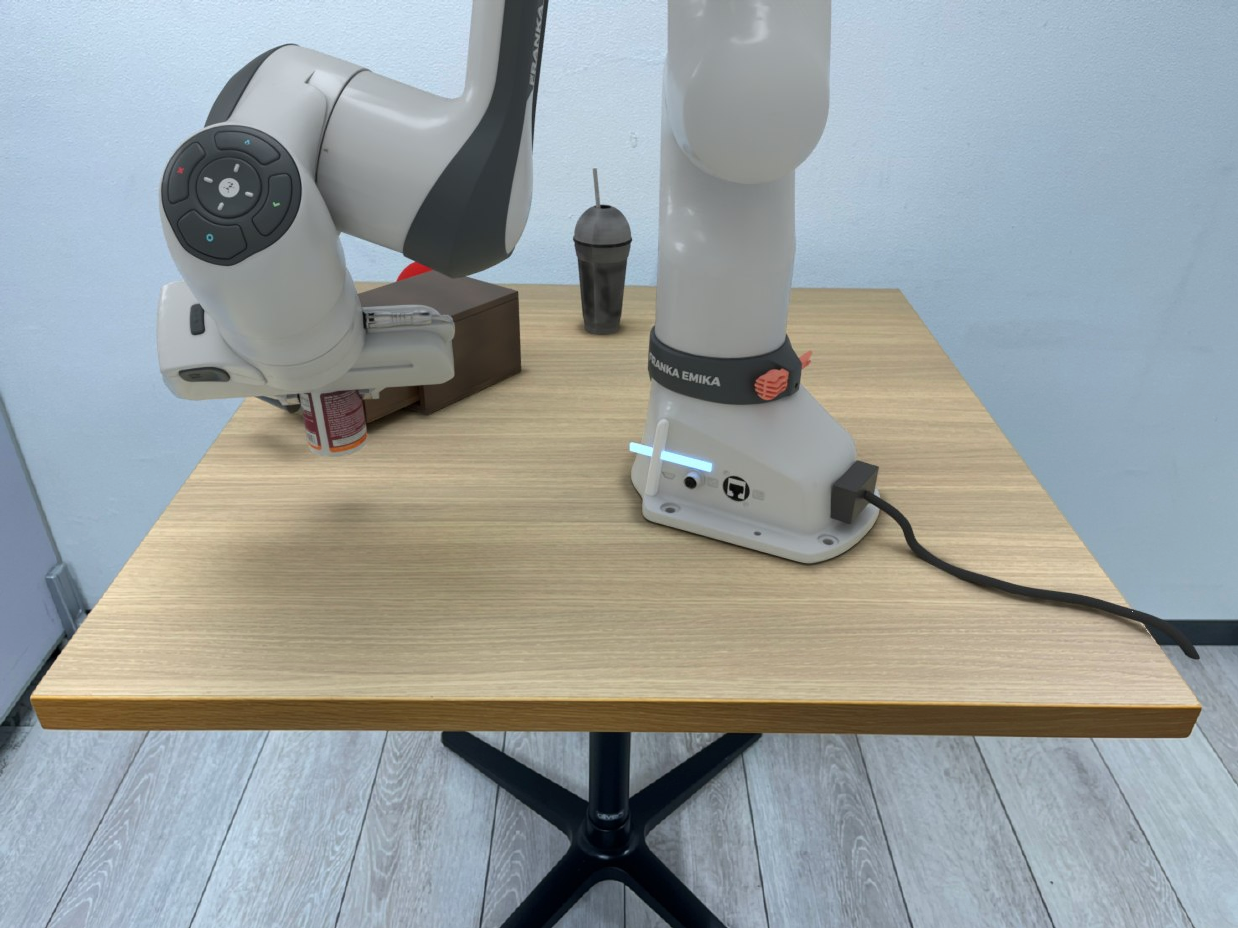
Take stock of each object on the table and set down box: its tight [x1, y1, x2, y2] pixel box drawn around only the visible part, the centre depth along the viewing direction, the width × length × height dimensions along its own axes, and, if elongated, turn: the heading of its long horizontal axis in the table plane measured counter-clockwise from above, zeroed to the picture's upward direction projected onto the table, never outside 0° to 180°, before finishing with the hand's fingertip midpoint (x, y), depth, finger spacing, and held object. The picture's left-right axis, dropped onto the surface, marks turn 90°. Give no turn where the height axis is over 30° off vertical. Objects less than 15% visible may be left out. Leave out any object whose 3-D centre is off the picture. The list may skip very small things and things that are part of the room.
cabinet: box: [357, 270, 522, 416], centre depth 100 cm, size 15×13×10 cm
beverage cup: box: [572, 167, 633, 336], centre depth 112 cm, size 7×7×20 cm
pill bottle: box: [299, 389, 369, 458], centre depth 73 cm, size 5×5×8 cm
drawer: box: [255, 385, 420, 424], centre depth 92 cm, size 18×11×8 cm, turn 143°
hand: (331, 393), depth 74 cm, fingers closed on pill bottle, 5 cm apart
